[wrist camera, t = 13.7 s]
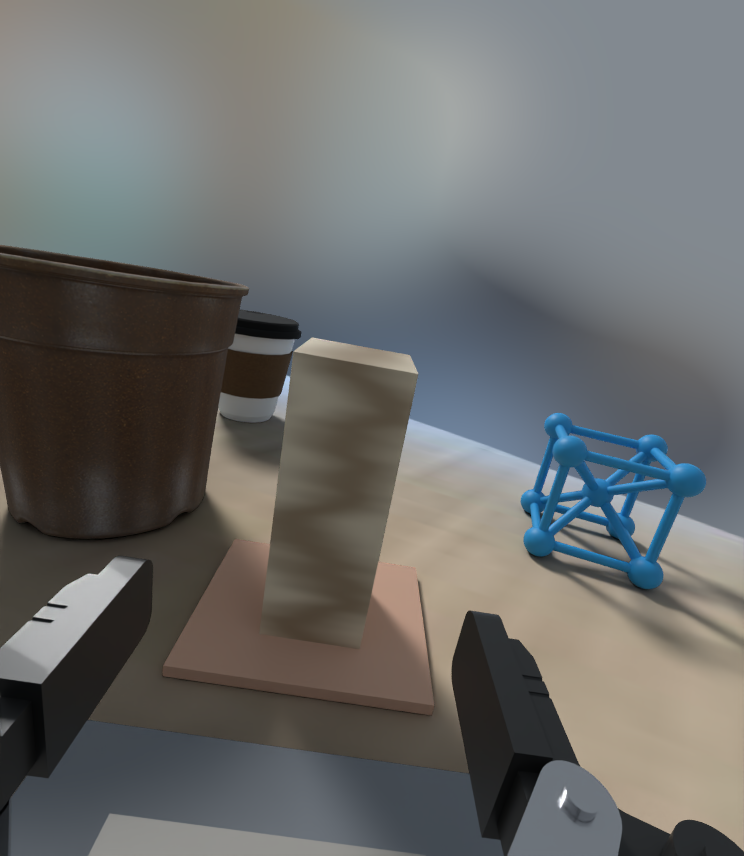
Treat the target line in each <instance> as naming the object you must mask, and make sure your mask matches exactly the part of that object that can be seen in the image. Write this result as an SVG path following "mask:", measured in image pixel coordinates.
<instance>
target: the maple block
mask: <svg viewBox="0 0 744 856" xmlns="http://www.w3.org/2000/svg"><path fill="white" fill-rule="evenodd" d="M291 369H292V370H291V377H290V385H289V393H288V401H287V410H286V418H285V426H284V434H283V442H282V451H281V459H280V467H279V475H278V484H277V492H276V500H275V508H274V517H273V525H272V533H271V541H270V549H269V558H268V566H267V574H266V582H265V591H264V599H263V607H262V615H261V624H260V632H259V634H263V635H270V636H276V637H283V638H289V639H296V640H302V641H309V642H315V643H322V644H328V645H335V646H341V647H348V648H354V649H360V645H361V641H362V636H363V631H364V627H365V622H366V617H367V613H368V608H369V603H370V598H371V594H372V589H373V584H374V580H375V575H376V570H377V566H378V561H379V556H380V551H381V547H382V542H383V537H384V533H385V528H386V523H387V519H388V514H389V509H390V504H391V500H392V495H393V490H394V486H395V481H396V476H397V472H398V467H399V462H400V457H401V453H402V448H403V443H404V439H405V434H406V429H407V425H408V420H409V415H410V410H411V406H412V401H413V396H414V392H415V387H416V382H417V378H418V372H417V370H416V368H415V366H414V364H413V361H412V359H411V357H410V355H405V354H400V353H394V352H389V351H383V350H378V349H372V348H367V347H361V346H356V345H350V344H345V343H339V342H334V341H328V340H323V339H317V338H311V339H310V340H308V341H307V342H306V343H304V344H303V345H302V346H300V347H299V348H298V349H296V350H295V351H294V352H293V361H292V368H291Z"/></svg>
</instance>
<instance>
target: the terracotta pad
mask: <svg viewBox="0 0 744 856" xmlns="http://www.w3.org/2000/svg"><path fill="white" fill-rule="evenodd" d="M269 549H270V544H265V543H259V542H252V541H246V540H240V539H235V540H234V541H233V543H232V545H231V547H230V548H229V550H228V552H227V554H226V555H225V557H224V559H223V561H222V562H221V564H220V566H219V568H218V569H217V571H216V573H215V575H214V576H213V578H212V580H211V582H210V584H209V585H208V587H207V589H206V591H205V592H204V594H203V596H202V598H201V599H200V601H199V603H198V605H197V606H196V608H195V610H194V612H193V613H192V615H191V617H190V619H189V620H188V622H187V624H186V626H185V628H184V629H183V631H182V633H181V635H180V636H179V638H178V640H177V642H176V643H175V645H174V647H173V649H172V650H171V652H170V654H169V656H168V657H167V659H166V661H165V663H164V664H163V676H165V677H172V678H178V679H185V680H192V681H199V682H206V683H213V684H220V685H226V686H233V687H240V688H247V689H254V690H261V691H268V692H274V693H281V694H288V695H295V696H302V697H309V698H315V699H322V700H329V701H336V702H343V703H350V704H357V705H363V706H370V707H377V708H384V709H391V710H398V711H405V712H411V713H418V714H425V715H432V712H433V709H434V699H433V691H432V684H431V676H430V669H429V662H428V654H427V647H426V640H425V632H424V625H423V617H422V610H421V603H420V595H419V588H418V580H417V573H416V568H415V567H408V566H402V565H396V564H390V563H383V562H378V566H377V570H376V575H375V580H374V584H373V589H372V594H371V598H370V603H369V608H368V613H367V617H366V622H365V627H364V631H363V636H362V641H361V645H360V649H354V648H348V647H341V646H335V645H328V644H322V643H315V642H309V641H302V640H296V639H289V638H283V637H276V636H270V635H263V634H259V632H260V624H261V615H262V607H263V599H264V591H265V582H266V574H267V566H268V558H269Z"/></svg>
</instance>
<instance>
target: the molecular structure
mask: <svg viewBox="0 0 744 856" xmlns="http://www.w3.org/2000/svg"><path fill="white" fill-rule="evenodd" d="M544 428H545V431H546V433H547V434H548V435H549V436H550V439H549V442H548V445H547V449H546V451H545V455H544V458H543V461H542V464H541V467H540V470H539V473H538V476H537V480H536V483H535V486H534V489H532V490H528V491H526V492H525V493H524V494H523V495H522V497H521V505H522V507H523V509H524V510H525V511H526V512H528V513H530V514H531V518H532V526H533V527H532V528H530V529H528V530H527V531H526V533H525V535H524V545H525V547H526V549H527V550H528V551H529V552H530V553H531V554H533V555H535V556H539V557H542V556H546V555H548V554H550V553H551V552H552V551H553V550H554V551H557V552H561V553H564V554H567V555H571V556H574V557H577V558H581V559H584V560H587V561H591V562H594V563H597V564H600V565H604V566H607V567H610V568H614V569H617V570H620V571H624V572H627V574H628V577H629V579H630V580H631V582H632V583H633V584H635V585H636V586H638V587H640V588H642V589H653V588H656V587H658V586H659V585H660V584H661V583H662V581H663V571H662V568H661V567H660V565H659V564H658V563H657V562H656V561H657V559H658V556H659V554H660V552H661V550H662V547H663V545H664V543H665V541H666V538H667V536H668V534H669V532H670V529H671V527H672V525H673V523H674V520H675V518H676V516H677V514H678V511H679V509H680V507H681V504H682V502H683V500H684V498H685V497H693V496H696V495H698V494H699V493H701V492H702V491H703V490H704V488H705V485H706V478H705V475H704V473H703V472H702V471H701V470H700V469H699V468H698V467H696V466H694V465H691V464H678V465H676V464H675V463H674V462H673V461H672V460H671V459H669V458H668V457H667V456H666V453H667V450H668V447H667V444H666V442H665V441H664V439H662V438H661V437H659V436H656V435H646V436H643V437H642V438H640V439H639V440H638V441H637V440H633V439H629V438H625V437H620V436H616V435H612V434H608V433H604V432H599V431H595V430H591V429H587V428H582V427H578V426H574V425H572V421H571V419H570V418H569V417H568V416H567V415H565V414H562V413H555V414H552V415H550V416H549V417H548V418H547V419H546V421H545V425H544ZM570 433H572V434H577V435H580V436H585V437H589V438H593V439H597V440H601V441H605V442H610V443H614V444H618V445H622V446H626V447H630V448H635V449H636V452H637V454H636V455H635V456H634V457H633V458H631V459H630V460H629V461H627V460H623V459H619V458H615V457H611V456H607V455H603V454H599V453H595V452H590V451H587V447H586V445H585V443H584V442H583V441H582V440H581V439H579V438H578V437H575V436H569V434H570ZM553 457H554V458H555V460H556V461H557V462H558V463H559V464H560V465H559V468H558V471H557V474H556V477H555V480H554V483H553V486H552V489H551V492H550V495H549V496H545V495H544V494H543V493H542V492H541V491H542V488H543V485H544V482H545V479H546V476H547V473H548V470H549V467H550V464H551V461H552V458H553ZM584 460H585V461H589V462H593V463H597V464H601V465H605V466H609V467H613V468H617V469H618V470H617V471H616V472H615V473H613V474H612V475H611V476H610V477H608V478H607V479H606V480H602V479H595V478H594V477H593V475H592V473H591V472H590V470H589V468H588V467H587V465H586V463H585V461H584ZM655 461H658V462H659V463H660V464H661V465H662V466H663V467H664V468H665V469H666V470H663V469H659V468H655V467H651V466H650V463H651V462H655ZM570 467H574V468H575V469H576V470H577V472H578V473H579V475H580V476H581V478H582V479H583V481H584V482H585V484H584V486H583V488H582V491H575V492H569V493H562V494H561V492H562V489H563V486H564V483H565V480H566V477H567V474H568V472H569V468H570ZM629 472H633V473H636V475H635V477H634V480H633V482H632V483H628V484H622V485H615V484H616V483H617V482H619V481H620V480H621V479H622V478H623V477H625V476H626V475H627V474H628V473H629ZM645 476H649V477H653V478H657V479H655V480H648V481H644V478H645ZM614 485H615V486H614ZM664 488H668V489H669V490H670V491H671V492H673V494H672V496H671V498H670V500H669V503H668V505H667V507H666V510H665V512H664V514H663V517H662V519H661V521H660V524H659V526H658V528H657V531H656V533H655V535H654V538H653V540H652V542H651V545H650V547H649V549H648V551H647V554H646V556H645V557H643V556H641V554H640V552H639V550H638V549H637V547H636V545H635V543H634V541H633V539H632V538H631V536H632V534H633V533H634V531H635V524H634V522H633V520H632V519H631V518H630V517H629V515H630V513H631V510H632V508H633V505H634V503H635V500H636V498H637V496H638V493H639V492H641V491H648V490H656V489H664ZM626 493H628V495H627V497H626V500H625V502H624V505H623V507H622V510H621V512H620V513H616V511H615V510H614V508H613V507H612V505H611V504H610V502H611V501H612V499H613V496H614V495H619V494H626ZM581 499H582V500H581ZM573 500H581V501H579V502H578V503H577V504H576V505H575V506H573V507H572V508H569V507H565V506H561V505H558V502H566V501H573ZM590 505H592V506H595V507H601V509H602V510H603V512H604V514H605V516H606V517H607V518H605V517H601V516H598V515H594V514H590V513H587V512H583V511H584V510H585V509H586V508H587V507H589V506H590ZM542 511H544V512H543V515H542V518H541V519H540V513H541V512H542ZM554 512H558V513H561V514H564V515H562V516H561V517H560V518H559V519H558V520H556V521H555V522H554V523H553V524H551V521H552V518H553V515H554ZM574 518H579V519H583V520H586V521H590V522H593V523H597V524H600V525H604V526H606V529H607V531H608V532H609V534H610V535H611V536H613V537H615V538H618V539H619V540H620V541H621V543H622V545H623V546H624V548H625V550H626V552H627V553H628V555H629V557H630V558H631V561H630V562H629V563H628V562H624V561H621V560H617V559H614V558H611V557H607V556H604V555H601V554H597V553H594V552H590V551H587V550H584V549H580V548H577V547H574V546H570V545H567V544H563V543H560V542H557V541H555V538H554V535H555V534H556V533H558V532H559V531H560V530H561V529H562V528H563V527H565V526H566V525H567V524H568V523H569V522H571V521H572V520H573V519H574ZM550 524H551V525H550Z"/></svg>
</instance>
